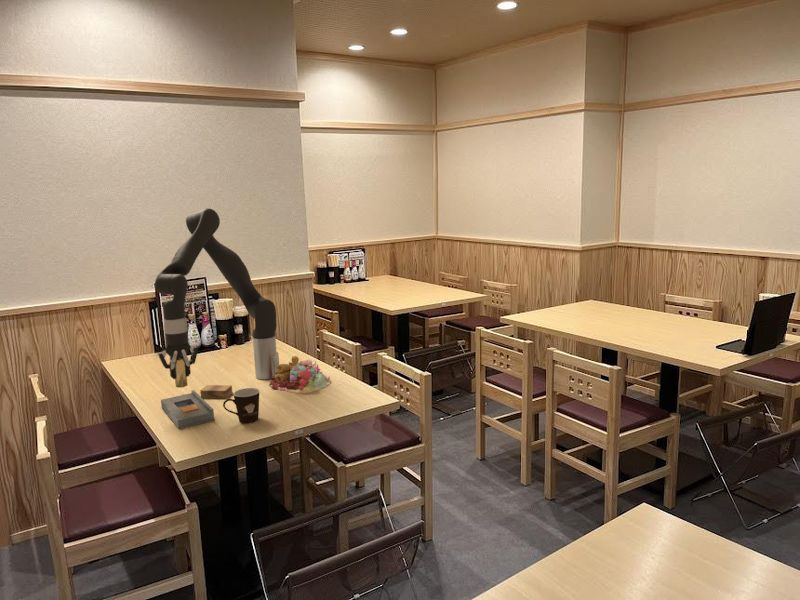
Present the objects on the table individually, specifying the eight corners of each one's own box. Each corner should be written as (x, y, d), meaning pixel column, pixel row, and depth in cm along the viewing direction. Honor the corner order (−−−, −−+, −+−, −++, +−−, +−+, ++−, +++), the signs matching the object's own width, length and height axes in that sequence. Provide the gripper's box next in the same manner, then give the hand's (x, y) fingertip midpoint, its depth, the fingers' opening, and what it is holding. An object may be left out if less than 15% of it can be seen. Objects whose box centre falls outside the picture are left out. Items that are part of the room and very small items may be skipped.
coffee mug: (263, 414, 211) (261, 387, 209) (259, 424, 202) (256, 396, 200) (230, 416, 210) (227, 388, 208) (224, 426, 202) (221, 397, 200)
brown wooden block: (232, 392, 233) (231, 385, 233) (226, 398, 228) (225, 390, 227) (207, 392, 235) (207, 385, 234) (201, 397, 229) (200, 390, 228)
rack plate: (214, 420, 207) (213, 409, 206) (178, 428, 201) (177, 417, 200) (194, 400, 227) (193, 390, 226) (161, 407, 220) (160, 397, 219)
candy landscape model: (258, 388, 239) (256, 366, 237) (294, 370, 259) (293, 350, 257) (309, 397, 227) (308, 373, 225) (343, 378, 248) (342, 356, 246)
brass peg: (189, 383, 216) (186, 357, 214) (184, 387, 212) (181, 360, 210) (179, 383, 217) (176, 356, 215) (173, 387, 213) (170, 360, 211)
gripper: (193, 325, 217) (198, 370, 221) (152, 331, 210) (157, 378, 213) (199, 329, 211) (203, 376, 215) (157, 335, 204) (162, 384, 207)
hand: (180, 377), depth 214 cm, fingers closed on brass peg, 4 cm apart
